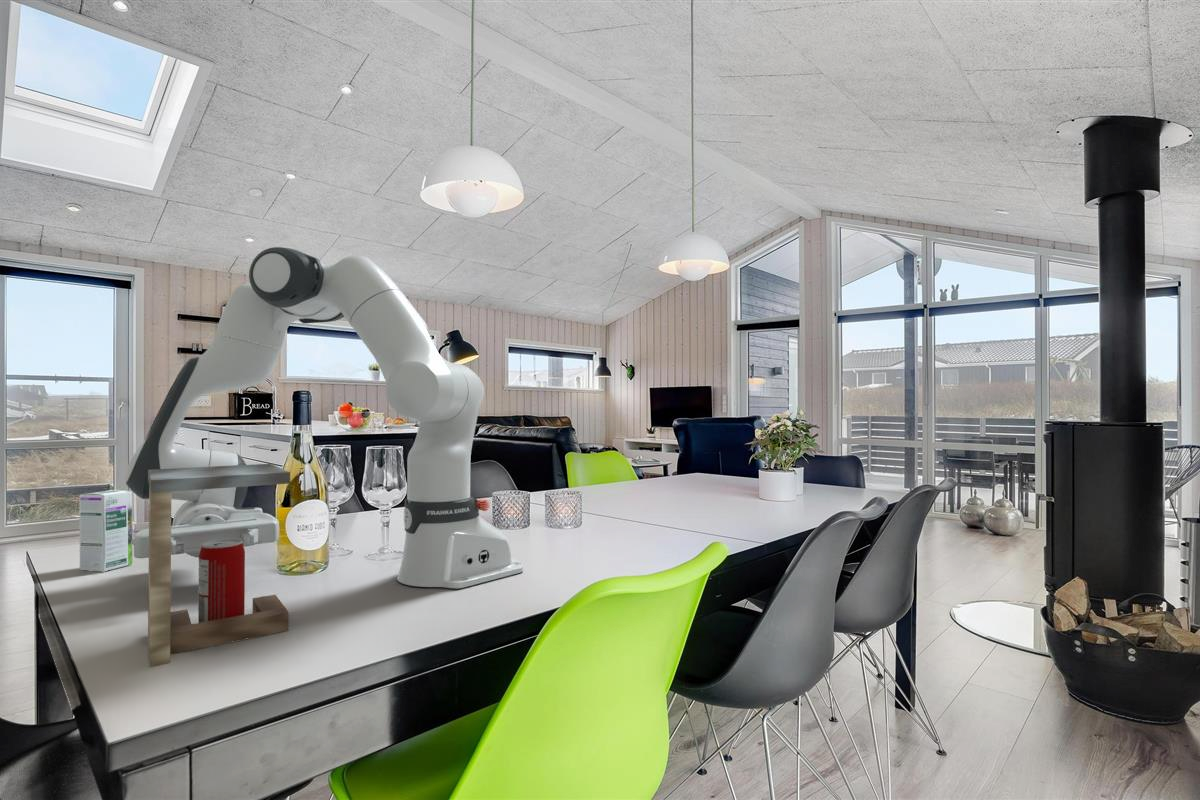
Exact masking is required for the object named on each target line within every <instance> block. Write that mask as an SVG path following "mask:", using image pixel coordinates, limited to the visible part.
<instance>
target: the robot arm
mask: <svg viewBox="0 0 1200 800" xmlns="http://www.w3.org/2000/svg"><path fill="white" fill-rule="evenodd" d="M248 280H249V282H247V283H243V284H240V285H238V286H237V287H235V288H234V289H233V291H232V292H231V294H230V297H229V298H228V300H227V303H226V304H225V306H224V308H223V310H222V314H221V316H220V319H219V320H218V321H219V322H218V324H217V327H216V332H215V335H214V337H213V340H212V342H211V344H210V346H208V348H207V349H206V350H205V351H204V352H203V353H202V354H201V355H200V356H197V357H192V358H189V359H188V360H187V361H186V362H185V363H184V365H183V366H182V367H181V369H180V370H179V372H178V374H177V375H176V378H175V379H174V381H173V383H172V385H171V387H170V389H169V390H168V391H167V394H166V396H165V398H164V400H163V401H162V404H161V406H160V407H159V410H158V412H157V414H156V416H155V417H154V420H153V421H152V424H151V426H150V428H149V431H148V432H147V434H146V437H145V438H144V440H143V442H142V443H141V444H140V446H139V447H138V448H137V450H136V451H135V453H134V454H133V455H132V457H131V459H130V460H129V462H128V465H127V469H126V473H125V480H126V482H125V484H126V486H127V487H128V488H129V489H130V491H132V493H133V494H135V495H136V496H137V497H138V498H140V499H142V500H149V482H148V470H154V469H174V468H194V467H214V466H235V465H247V464H246V462H245V460H244V459H243V457H242V456H241V455H240V454H238V453H234V452H229V451H222V450H215V449H214V450H213V449H203V448H197V447H190V446H184V445H183V446H182V445H178V444H176V443H175V441H174V440H175V438H176V435H177V433H178V431H179V429H180V427H181V426H182V424H183V422H184V419H185V417H186V416H187V413H188V411H189V409H190V408H191V407H192V405H193V404H194V402H195V401H197V400H198V399H199V398H201V397H203V396H206V395H209V394H214V393H218V392H226V391H234V390H242V389H249V388H252V387H255V386H257V385H260V384H262V383H264V382H265V381H266V380H268V379H269V378H270V377H271V376H272V375H273V374H274V371H275V369H276V367H277V364H278V362H279V359H280V355H281V351H282V348H283V344H284V339H285V335H286V332H287V330H288V328H289V326H290V325H291V324H292V323H294V322H296V321H299V322H300V323H302V324H315V323H318V324H319V323H329V322H330V323H331V322H336V321H339V320H342V319H344V318H345V319H346V321H347V322H348V323H349V325H350V326H351V327H352V329H353V330H354V331H355V333H356V334H357V336H358V337H359V338H360V339H361V341H362V342H363V344H364V345H365V347H366V348H367V349H368V351H369V352H370V353H371V354H372V356H373V358H374V359H375V361H376V363H377V364H378V367H379V369H380V371H381V373H382V376H383V377H384V380H385V383H386V384H385V395H386V400H387V402H388V404H389V406H390V407H391V408H392V410H394V412H396V413H397V414H399V415H400V416H402V417H404V418H406V419H409V420H412V421H415V422H419V423H418V428H417V433H416V436H415V440H414V442H413V444H412V447H411V449H410V450H409V452H408V454H407V462H406V463H407V464H406V465H407V466H406V467H407V468H406V470H407V471H406V472H407V475H406V476H407V478H406V480H407V481H406V483H407V485H406V486H407V487H406V499H404V508H403V509H404V510H403V526H404V532H405V539H404V547H403V553H402V559H401V562H400V567H399V571H398V574H397V576H396V577H397V578H396V580H397V581H398V582H399V583H401V584H403V585H405V586H406V585H407V586H410V587H411V586H412V587H421V588H422V587H423V588H445V589H446V588H447V589H463V588H466V587H471V586H475V585H478V584H482V583H486V582H490V581H494V580H496V579H501V578H505V577H508V576H509V577H510V576H513V575H516V574H519V573H523V572H524V565H523V563H522V562H521V561H519V560H518V559H516V558H514V557H513V556H512V551H511V547H510V542H509V539H508V538H507V536H506V535H505V534H504V533H503V532H501V531H500V530H498V529H497V528H496V527H494V526H493V524H491V523H489V522H488V521H486V520H485V519H484V518H482V517H481V516H480V511H483V512H487V511H488V510H489V509H490V505H491V504H490V502H489V501H488V500H487V499H485V498H484V499H483V498H480V499H477V498H475V497H473V496H471V463H472V462H471V459H472V458H471V455H472V449H473V443H474V436H475V432H476V426H477V422H478V417H479V416H478V415H479V411H480V407H481V406H482V403H483V401H484V397H485V387H484V384H483V381H482V380H481V378H480V377H479V376H478V375H477V373H476V372H474V371H473V370H472V369H471V368H470V367H468V366H466V365H463V364H461V363H455V362H451V361H448V360H446V359H445V358H444V357H443V356H442V355H441V354H440V353H439V351H438V349H437V348H436V346H435V344H434V342H433V340H432V338H431V335H430V334H429V326H428V325H427V323H426V321H425V320H424V319H423V317H422V316H421V315H420V314H419V312H418V311H417V310H416V308H415V307H414V306H413V304H412V303H411V302H410V300H409V299H408V298H407V296H406V295H405V294H404V292H403V291H402V290H401V288H400V287H398V285H397V284H396V283H395V281H393V280H392V278H391V277H390V276H389V275H388V274H387V273H386V272H385V271H384V270H383V269H382V268H381V267H380V266H379V265H377V264H376V263H375V262H373V260H371V259H370V258H369V257H367V256H363V255H350V256H346V257H344V258H342V259H340V260H339V261H337V262H336V263H334V264H330V265H327V264H325V263H324V262H322V261H320V259H319V258H317V257H314V256H312V255H309V254H306V253H304V252H302V251H300V250H297V249H293V248H288V247H281V246H276V247H275V246H274V247H273V246H272V247H269V248H266V249H264V250H262V251H261V252H259V253H258V254H257V255H256V256H255V257H254V258H253V260H252V262H251V264H250V266H249V273H248ZM248 488H249V486H246V487H231V488H217V489H202V490H187V491H173V492H171V500H177V501H186V502H184V503H183V504H181V505H180V507H178V508H177V510H176V512H175V514H174V516H173V519H172V525H171V556H174V555H182V554H187V555H188V556H190V557H194V558H198V559H199V554H200V551H201V547H202V543H204V542H208V541H212V540H219V539H241V540H242V543H243V547H244V548H245V547H249V546H251V547H252V546H255V545H261V544H262V545H263V544H271V543H276V542H278V541H279V539H280V522H279V519H277V518H276V517H275V516H273V515H272V514H270V513H266V512H263V509H262V508H261V507H252V506H251V507H243V504H244V502H245V499H246V496H247V493H248ZM131 543H132V546H133V556H134V558H136V559H146V558H148V559H149V528H143V529H141V530H139V531H137V532H136V533H135V535H134V537H133V536H132V540H131Z"/></svg>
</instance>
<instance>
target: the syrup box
mask: <svg viewBox="0 0 1200 800" xmlns="http://www.w3.org/2000/svg"><path fill="white" fill-rule="evenodd" d="M132 493H133V491H132V490H128V489H126V490H125V489H112V490H111V489H109V490H104V491H97V492H91V493H90V492H89V493H82V494H80V495H78V496H79V498H78V501H79V502H78V504H79V505H78V507H79V510H78V511H79V512H78V513H79V516H78V517H79V518H78V519H79V520H78V521H79V522H78V523H79V570H80V571H82V570H92V571H101V572H100V573H106V572H108V570H109V571H112V570H115V569H119V568H124V567H127V566H132V565H133V544H132V543H131V540H132V538H133V494H132ZM105 571H106V572H105Z"/></svg>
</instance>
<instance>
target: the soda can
mask: <svg viewBox="0 0 1200 800" xmlns="http://www.w3.org/2000/svg"><path fill="white" fill-rule="evenodd" d="M245 558H246V551H245V547H243V543H242V540H241V539H219V540H212V541H208V542H204V543H202V547H201V551H200V554H199V558H198V609H197V610H198V619H197V621H198V622H197V623H201V622H207V621H213V620H218V619H224V618H229V617H235V616H241V615H245V608H246V606H245V598H246V597H245V596H246V595H245V594H246V593H245V589H246V588H245V587H246V585H245V584H246V583H245V581H246V579H245V578H246V576H245V575H246V574H245V573H246V572H245V567H246V562H245V561H246V559H245Z"/></svg>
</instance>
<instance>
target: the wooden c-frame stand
mask: <svg viewBox="0 0 1200 800" xmlns="http://www.w3.org/2000/svg"><path fill="white" fill-rule="evenodd" d="M148 482H149V499H148V529H149V558H148V595H147V596H148V597H147V598H148V601H147V602H148V603H147V605H148V607H147V611H148V613H147V615H148V616H147V617H148V618H147V619H148V620H147V651H148V664H149V666H148V667H151V668H152V667H154V666H160V665H164V664H170V663H171V654H170V614H171V612H172V611H171V606H172V605H171V602H172V601H171V600H172V599H171V597H172V595H171V594H172V593H171V589H172V588H171V587H172V586H171V585H172V555H171V526H172V499H171V492H173V491H187V490H202V489H217V488H231V487H246V486H248V487H257V486H272V485H274V486H275V485H287V484H288V485H289V484H291V472H290V471H288V470H286V469H284V468H281V467H279V466H277V465H274V464H273V463H272V464H271V463H259V464H257V463H256V464H246V465H235V466H214V467H194V468H174V469H154V470H148Z"/></svg>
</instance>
